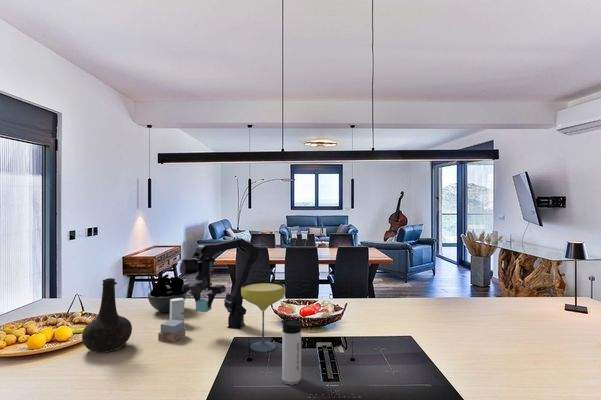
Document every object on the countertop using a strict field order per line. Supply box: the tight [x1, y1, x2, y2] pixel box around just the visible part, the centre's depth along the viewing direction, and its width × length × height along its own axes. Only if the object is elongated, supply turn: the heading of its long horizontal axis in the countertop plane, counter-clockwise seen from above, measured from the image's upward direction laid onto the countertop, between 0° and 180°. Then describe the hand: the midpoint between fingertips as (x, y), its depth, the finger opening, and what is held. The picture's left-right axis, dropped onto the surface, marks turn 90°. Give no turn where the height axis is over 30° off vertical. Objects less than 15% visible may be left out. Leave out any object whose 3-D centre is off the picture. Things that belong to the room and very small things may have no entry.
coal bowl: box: [147, 273, 188, 313], centre depth 198 cm, size 20×20×19 cm
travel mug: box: [281, 319, 302, 386], centre depth 122 cm, size 6×7×20 cm
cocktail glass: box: [241, 281, 286, 353], centre depth 150 cm, size 18×18×25 cm
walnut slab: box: [157, 328, 186, 343], centre depth 159 cm, size 8×8×4 cm
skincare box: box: [169, 298, 185, 322], centre depth 177 cm, size 6×4×12 cm
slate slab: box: [160, 319, 185, 334], centre depth 160 cm, size 7×7×4 cm
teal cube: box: [195, 297, 213, 313], centre depth 164 cm, size 5×5×4 cm
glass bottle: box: [81, 277, 133, 353], centre depth 148 cm, size 18×18×28 cm
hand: (203, 307), depth 164 cm, fingers closed on teal cube, 5 cm apart
